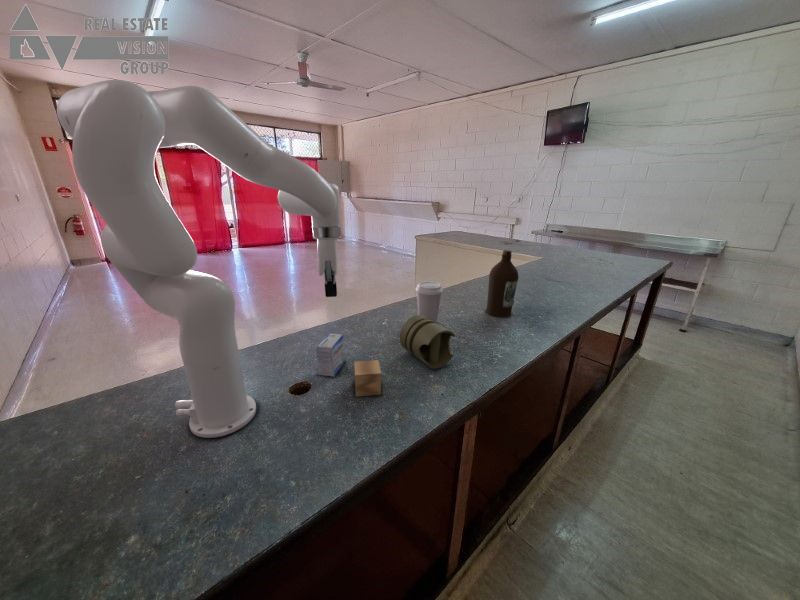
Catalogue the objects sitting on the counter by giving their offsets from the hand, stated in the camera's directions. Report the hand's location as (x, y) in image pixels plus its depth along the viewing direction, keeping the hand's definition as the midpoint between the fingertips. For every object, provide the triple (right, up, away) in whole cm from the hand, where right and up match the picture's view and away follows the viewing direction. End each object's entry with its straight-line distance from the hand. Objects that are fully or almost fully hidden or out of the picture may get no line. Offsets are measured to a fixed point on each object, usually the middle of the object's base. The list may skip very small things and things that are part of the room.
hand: (331, 295), depth 91 cm
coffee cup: (+30, -10, +23) cm, 39 cm away
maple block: (+12, -23, -13) cm, 29 cm away
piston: (+28, -18, +1) cm, 33 cm away
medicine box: (+1, -20, -5) cm, 21 cm away
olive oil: (+59, -7, +34) cm, 69 cm away
